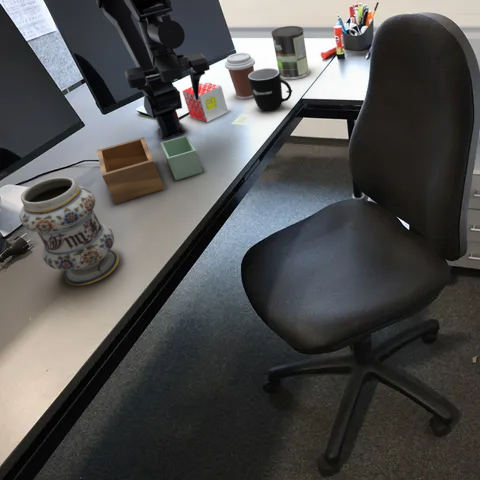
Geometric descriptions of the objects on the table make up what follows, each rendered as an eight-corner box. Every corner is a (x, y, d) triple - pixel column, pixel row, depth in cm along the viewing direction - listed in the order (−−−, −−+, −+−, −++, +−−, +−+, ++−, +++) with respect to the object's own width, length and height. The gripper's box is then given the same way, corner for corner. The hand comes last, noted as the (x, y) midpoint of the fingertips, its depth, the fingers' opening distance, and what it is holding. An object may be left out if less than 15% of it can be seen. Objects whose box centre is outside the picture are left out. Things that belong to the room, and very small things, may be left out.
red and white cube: (207, 122, 140) (199, 96, 135) (190, 116, 144) (182, 91, 139) (228, 111, 145) (221, 85, 140) (211, 106, 149) (204, 81, 144)
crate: (109, 176, 120) (96, 149, 115) (154, 163, 123) (144, 136, 118) (115, 204, 110) (101, 175, 105) (164, 188, 113) (153, 160, 109)
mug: (250, 113, 142) (242, 79, 136) (262, 100, 149) (255, 67, 143) (289, 114, 140) (282, 80, 133) (299, 101, 146) (293, 68, 140)
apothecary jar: (133, 245, 98) (95, 167, 86) (112, 287, 88) (66, 207, 77) (74, 250, 98) (29, 173, 86) (46, 292, 88) (-9, 213, 77)
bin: (168, 163, 123) (160, 142, 119) (194, 156, 125) (187, 135, 121) (175, 180, 116) (167, 158, 112) (202, 172, 118) (195, 150, 114)
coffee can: (284, 82, 159) (276, 37, 151) (275, 72, 167) (267, 30, 158) (313, 75, 162) (307, 31, 153) (303, 66, 170) (297, 23, 161)
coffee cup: (267, 92, 154) (259, 54, 146) (244, 103, 149) (234, 63, 141) (250, 86, 159) (241, 49, 151) (227, 96, 154) (217, 58, 146)
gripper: (119, 58, 103) (145, 126, 112) (205, 39, 108) (223, 105, 118) (113, 45, 110) (138, 109, 120) (194, 28, 116) (212, 91, 126)
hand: (178, 104), depth 121 cm, fingers open, 9 cm apart
